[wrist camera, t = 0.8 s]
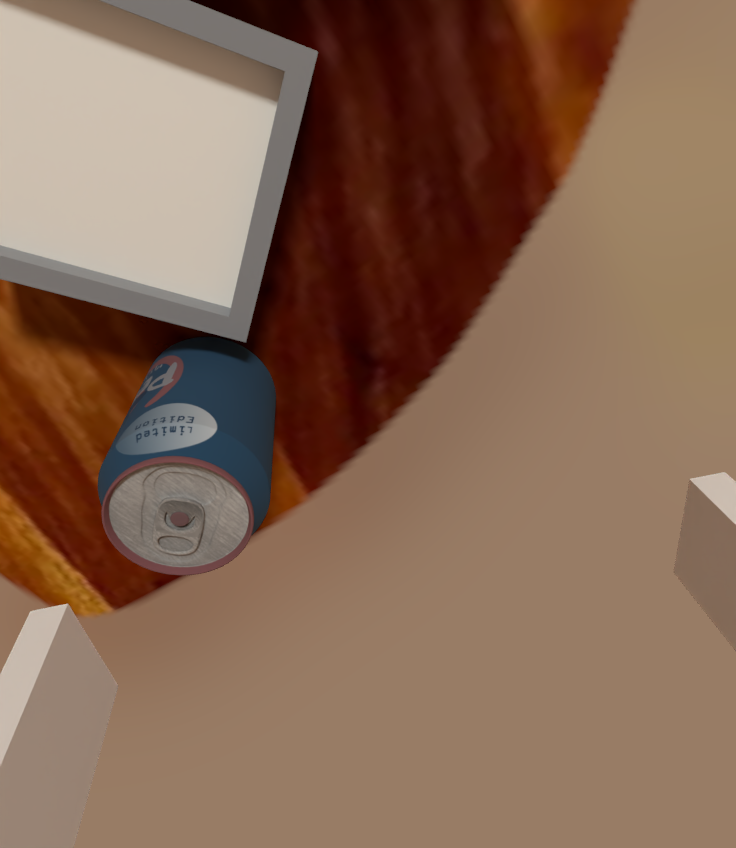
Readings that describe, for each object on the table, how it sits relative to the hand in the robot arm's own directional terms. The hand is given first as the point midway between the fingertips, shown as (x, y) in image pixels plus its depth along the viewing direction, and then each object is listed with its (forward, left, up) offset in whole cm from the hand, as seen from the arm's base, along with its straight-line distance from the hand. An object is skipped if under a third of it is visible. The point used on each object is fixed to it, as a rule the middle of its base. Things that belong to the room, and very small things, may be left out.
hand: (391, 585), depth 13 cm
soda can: (-5, -7, -22) cm, 23 cm away
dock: (-11, +4, -21) cm, 24 cm away
